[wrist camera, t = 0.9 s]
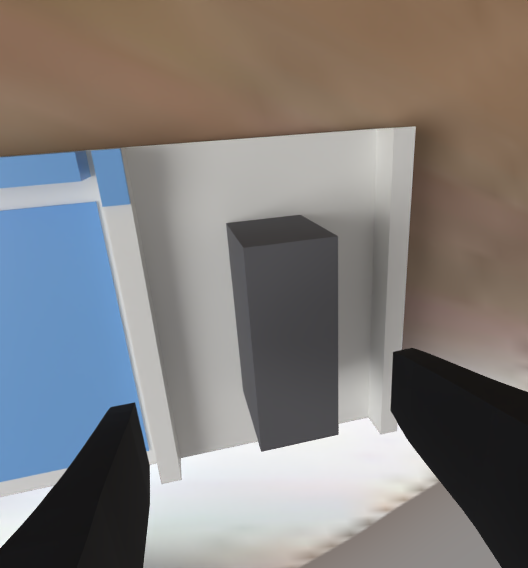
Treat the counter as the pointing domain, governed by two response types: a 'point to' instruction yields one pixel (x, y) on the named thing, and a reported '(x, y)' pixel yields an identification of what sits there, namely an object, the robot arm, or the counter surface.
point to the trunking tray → (181, 287)
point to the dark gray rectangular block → (287, 326)
